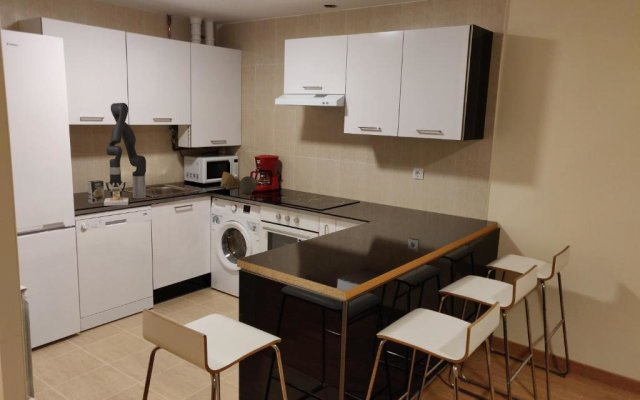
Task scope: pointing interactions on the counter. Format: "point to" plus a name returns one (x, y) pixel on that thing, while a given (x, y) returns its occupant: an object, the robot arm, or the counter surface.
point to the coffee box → (95, 192)
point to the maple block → (116, 195)
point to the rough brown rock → (229, 181)
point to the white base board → (115, 201)
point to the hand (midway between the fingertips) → (116, 196)
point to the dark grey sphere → (248, 184)
